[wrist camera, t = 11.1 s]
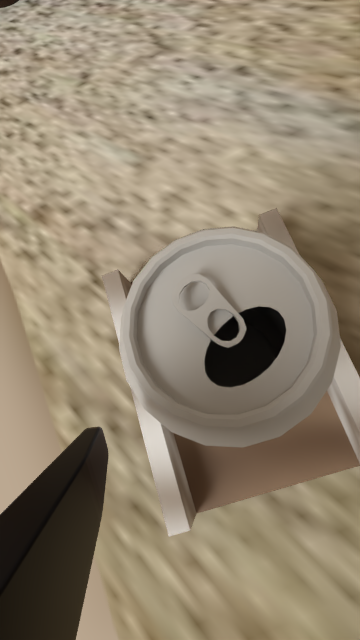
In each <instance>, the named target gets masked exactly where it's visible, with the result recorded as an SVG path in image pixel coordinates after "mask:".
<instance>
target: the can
mask: <svg viewBox="0 0 360 640" xmlns="http://www.w3.org/2000/svg"><path fill="white" fill-rule="evenodd" d="M340 348H341V343H340V334H339V325H338V316H337V310H336V308H335V306H334V304H333V302H332V300H331V298H330V295H329V293H328V291H327V289H326V287H325V285H324V283H323V281H322V279H321V278H320V277H319V276H318V275H317V274H316V272H315V270H314V269H313V268H312V267H311V266H310V265H309V264H308V263H307V262H306V261H305V260H304V259H303V258H302V257H301V256H300V255H299V254H298V253H297V252H296V251H295V250H294V249H293V248H292V247H290V246H288V245H286V244H284V243H282V242H281V241H279V240H277V239H275V238H273V237H271V236H269V235H268V234H266V233H263V232H258V231H253V230H248V229H243V228H238V227H224V228H212V229H203V230H200V231H197V232H195V233H192V234H189V235H187V236H184V237H181V238H179V239H176V240H174V241H173V242H172V243H170V244H169V245H168V246H166V247H165V248H163V249H162V250H161V251H159V252H158V253H157V254H155V255H154V256H153V257H151V259H150V260H149V261H148V262H147V264H146V265H145V266H144V268H143V269H142V270H141V272H140V273H139V274H138V275H137V277H136V278H135V279H134V281H133V283H132V286H131V288H130V291H129V293H128V296H127V299H126V301H125V304H124V307H123V312H122V317H121V327H120V342H119V351H120V355H121V359H122V363H123V367H124V371H125V376H126V380H127V382H128V383H129V385H130V387H131V388H132V390H133V392H134V393H135V395H136V396H137V398H138V400H139V401H140V403H141V405H142V406H143V408H144V409H145V410H146V411H147V412H148V413H149V414H151V415H152V416H153V417H154V418H155V419H156V420H158V421H159V422H160V423H161V424H162V425H164V426H165V427H166V428H167V429H168V430H169V431H171V432H172V433H175V434H177V435H180V436H182V437H185V438H188V439H190V440H193V441H195V442H198V443H200V444H203V445H205V446H224V447H247V446H250V445H253V444H257V443H260V442H263V441H267V440H270V439H274V438H277V437H280V436H282V435H283V434H284V433H286V432H287V431H289V430H290V429H291V428H293V427H294V426H295V425H297V424H298V423H299V422H301V421H302V420H304V419H305V418H306V417H308V416H309V415H310V414H311V413H312V412H313V410H314V409H315V407H316V406H317V404H318V403H319V401H320V400H321V398H322V397H323V395H324V394H325V392H326V391H327V389H328V388H329V386H330V385H331V383H332V381H333V377H334V373H335V369H336V365H337V361H338V356H339V352H340Z"/></svg>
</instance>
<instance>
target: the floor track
mask: <svg viewBox="0 0 360 640" xmlns="http://www.w3.org/2000/svg"><path fill="white" fill-rule="evenodd" d="M257 231H258V232H263V233H266V234H268V235H269V236H271V237H273V238H275V239H277V240H279V241H281V242H282V243H284V244H286V245H288V246H290V247H292V248H293V249H294V250H295V251H296V252H297V253H298V250H297V248H296V246H295V244H294V242H293V240H292V238H291V236H290V234H289V232H288V230H287V228H286V226H285V224H284V222H283V220H282V218H281V216H280V214H279V212H278V210H277V208H276V209H273V210H271V211H268V212H265V213H263V214H260V215H259V219H258V229H257ZM298 254H299V253H298ZM102 278H103V282H104V286H105V290H106V294H107V298H108V302H109V306H110V310H111V313H112V317H113V321H114V325H115V329H116V333H117V337H118V341H119V342H120V327H121V317H122V312H123V307H124V304H125V301H126V299H127V296H128V293H129V291H130V288H131V286H132V283H133V282H131V283H130V282H129V281H128V280H127V279H126V278H125V277H124V275H123V274H122V273H121V272H120V271H119V270H115V271H113V272H110V273H107V274H105V275H102ZM340 343H341V348H340V352H339V356H338V361H337V365H336V369H335V373H334V377H333V381H332V383H331V385H330V386H329V388H328V389H327V391H326V392H325V394H324V395H323V397H322V398H321V400H320V401H319V403H318V404H317V406H316V407H315V409H314V410H313V412H312V413H311V414H310V415H309V416H308V417H306V418H305V419H304V420H302V421H301V422H299V423H298V424H297V425H295V426H294V427H293V428H291V429H290V430H289V431H287V432H286V433H284V434H283V435H282V436H280V437H277V438H274V439H270V440H267V441H263V442H260V443H257V444H253V445H250V446H247V447H224V446H205V445H203V444H200V443H198V442H195V441H193V440H190V439H188V438H185V437H182V436H180V435H177V434H175V433H172V432H171V431H169V430H168V429H167V428H166V427H165V426H164V425H162V424H161V423H160V422H159V421H158V420H156V419H155V418H154V417H153V416H152V415H151V414H149V413H148V412H147V411H146V410H145V409H144V408H143V406H142V405H141V403H140V401H139V400H138V398H137V396H136V395H135V393H134V392H133V390H132V388H131V391H132V395H133V399H134V403H135V407H136V411H137V415H138V419H139V422H140V426H141V430H142V434H143V438H144V442H145V446H146V450H147V454H148V457H149V461H150V465H151V469H152V473H153V477H154V481H155V485H156V489H157V492H158V496H159V500H160V504H161V508H162V512H163V516H164V520H165V524H166V527H167V531H168V535H169V536H173V535H176V534H180V533H183V532H186V531H190V529H191V527H192V524H193V521H194V519H195V516H196V513H200V512H203V511H206V510H210V509H213V508H217V507H220V506H223V505H227V504H230V503H234V502H237V501H240V500H244V499H247V498H251V497H254V496H257V495H261V494H264V493H268V492H271V491H275V490H278V489H281V488H285V487H288V486H292V485H295V484H298V483H302V482H305V481H309V480H312V479H315V478H319V477H322V476H326V475H329V474H332V473H336V472H339V471H343V470H346V469H349V468H353V467H356V466H360V377H359V375H358V373H357V371H356V369H355V367H354V365H353V363H352V361H351V359H350V357H349V355H348V353H347V351H346V349H345V347H344V345H343V343H342V341H341V338H340Z"/></svg>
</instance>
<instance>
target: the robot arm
mask: <svg viewBox="0 0 360 640" xmlns="http://www.w3.org/2000/svg"><path fill="white" fill-rule="evenodd" d="M107 464H108V448H107V444H106V440H105V437H104V433H103V430H102V428H101V427H92V428H87V429H85V430H84V431H83V432H82V433H81V434H80V435H79V436H78V437H77V438H76V439H75V440H74V441H73V442H72V443H71V444H70V445H69V446H68V447H67V448H66V449H65V450H64V451H63V452H62V453H61V454H60V455H59V456H58V457H57V458H56V459H55V460H54V461H53V462H52V463H51V464H50V465H49V466H48V467H47V468H46V469H45V470H44V471H43V472H42V473H41V474H40V475H39V476H38V477H37V478H36V479H35V480H34V481H33V483H31V484H30V485H29V486H28V487H27V488H26V489H25V490H24V491H23V492H22V493H21V494H20V495H19V496H18V497H17V498H16V499H15V500H14V501H13V502H12V503H11V504H10V505H9V506H8V508H6V510H4V511H3V512H2V513H1V514H0V640H76V635H77V631H78V626H79V621H80V616H81V611H82V607H83V602H84V598H85V593H86V588H87V584H88V579H89V574H90V569H91V565H92V559H93V555H94V551H95V546H96V541H97V537H98V532H99V527H100V522H101V517H102V511H103V503H104V493H105V483H106V474H107Z"/></svg>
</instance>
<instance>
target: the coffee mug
mask: <svg viewBox="0 0 360 640" xmlns="http://www.w3.org/2000/svg"><path fill="white" fill-rule="evenodd" d="M17 1H19V0H0V8H2V7H7V6H10V5H12V4H14V3H16V2H17Z"/></svg>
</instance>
